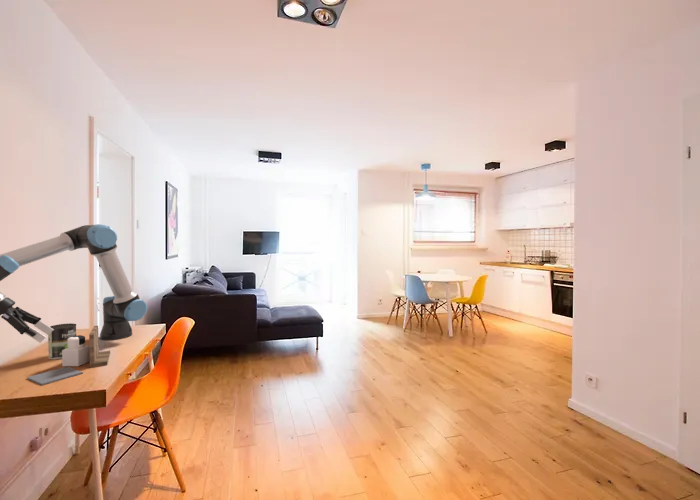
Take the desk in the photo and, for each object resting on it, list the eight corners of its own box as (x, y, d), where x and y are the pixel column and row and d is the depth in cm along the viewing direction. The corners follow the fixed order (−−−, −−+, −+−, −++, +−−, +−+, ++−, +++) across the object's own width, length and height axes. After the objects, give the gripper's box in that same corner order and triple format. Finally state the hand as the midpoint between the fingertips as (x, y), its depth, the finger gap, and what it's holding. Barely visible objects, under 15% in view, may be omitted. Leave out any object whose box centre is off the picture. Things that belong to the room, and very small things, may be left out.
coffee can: (82, 352, 165) (81, 323, 165) (60, 360, 155) (59, 329, 155) (65, 351, 167) (64, 322, 167) (42, 358, 157) (41, 328, 157)
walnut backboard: (94, 355, 161) (94, 325, 161) (110, 353, 165) (109, 324, 164) (89, 367, 146) (89, 334, 146) (107, 364, 149) (106, 332, 149)
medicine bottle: (75, 360, 155) (75, 334, 154) (91, 360, 154) (90, 334, 154) (61, 366, 147) (61, 338, 147) (78, 366, 147) (77, 338, 147)
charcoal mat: (67, 367, 146) (67, 366, 146) (82, 373, 139) (82, 372, 139) (27, 378, 134) (27, 377, 134) (42, 385, 128) (42, 383, 128)
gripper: (-1, 306, 147) (46, 336, 155) (-26, 317, 125) (30, 351, 133) (15, 292, 149) (61, 322, 157) (-6, 301, 128) (48, 335, 136)
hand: (47, 336), depth 145 cm, fingers open, 13 cm apart
